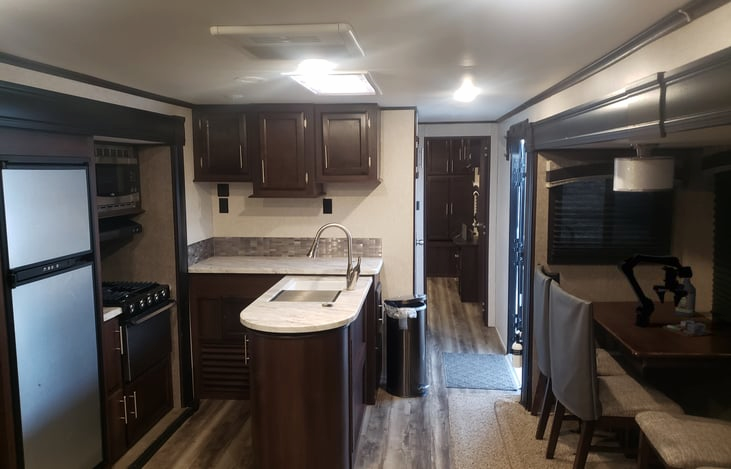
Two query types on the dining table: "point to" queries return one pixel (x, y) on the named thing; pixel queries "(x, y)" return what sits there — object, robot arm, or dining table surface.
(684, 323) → the push plate
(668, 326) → the gauge base
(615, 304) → the dining table surface
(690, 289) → the liquor
